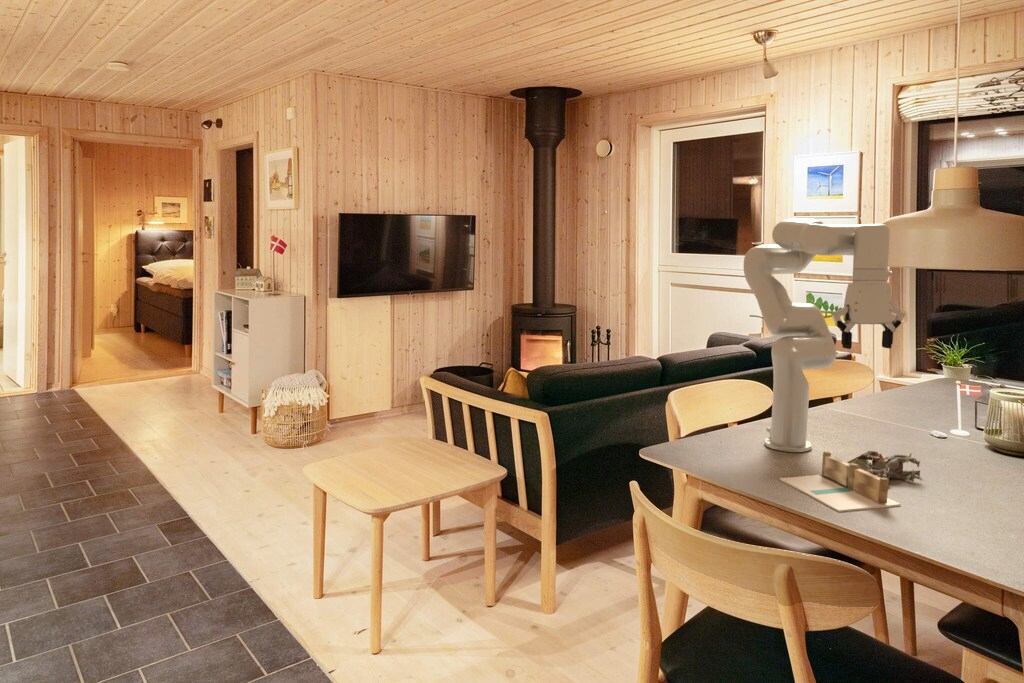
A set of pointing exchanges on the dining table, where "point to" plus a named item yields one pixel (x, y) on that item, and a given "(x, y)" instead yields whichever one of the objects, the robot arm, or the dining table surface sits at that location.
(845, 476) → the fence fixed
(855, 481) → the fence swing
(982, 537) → the dining table surface
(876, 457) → the figurine
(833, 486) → the card
